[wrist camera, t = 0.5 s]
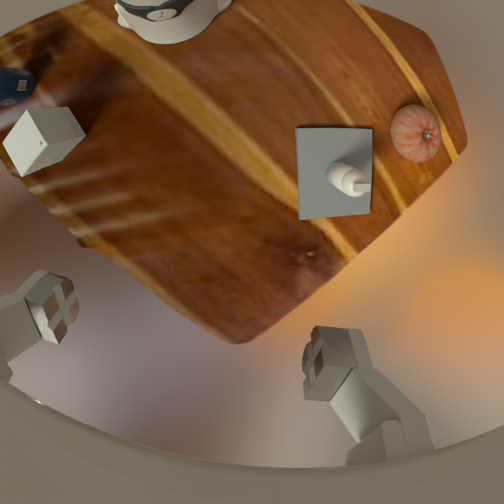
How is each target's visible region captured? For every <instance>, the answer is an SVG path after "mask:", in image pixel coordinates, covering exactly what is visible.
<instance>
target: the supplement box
mask: <svg viewBox="0 0 504 504" xmlns="http://www.w3.org/2000/svg"><path fill="white" fill-rule="evenodd" d="M85 136H86V134H85V133H84V131H83V129H82V128H81V126H80V125H79V123H78V122H77V120H76V118H75V117H74V115H73V114H72V112H71V110H70V109H69V108H68V107H54V108H39V109H27V110H26V111H25V113H24V114H23V115H22V116H21V118H20V119H19V120H18V122H17V123H16V124H15V126H14V127H13V129H12V130H11V131H10V133H9V134H8V136H7V137H6V139H5V140H4V142H3V145H4V147H5V149H6V150H7V152H8V154H9V156H10V158H11V159H12V161H13V163H14V164H15V166H16V168H17V170H18V172H19V173H20V175H21V177H23V176H25V175H28V174H30V173H32V172H34V171H37V170H39V169H41V168H44V167H46V166H49V165H51V164H53V163H56V162H59V161H61V160H63V159H64V157H65V156H66V155H67V154H68V153H69V152H70V151H71V150H72V149H73V148H74V147H75V146H76V145H77V144H78V143H79V142H80V141H81V140H82V139H83V138H84V137H85Z"/></svg>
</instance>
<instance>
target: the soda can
mask: <svg viewBox="0 0 504 504" xmlns="http://www.w3.org/2000/svg"><path fill="white" fill-rule="evenodd" d="M33 85H34V79H33V76H32V74H31V72H30V71H29V70H26V69H17V68H4V67H0V105H9V104H19V103H21V102H22V101H24V100H25V99H26V98H27V97H28V96H29V94H30V93H31V91H32V89H33Z"/></svg>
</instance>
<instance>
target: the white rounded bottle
mask: <svg viewBox="0 0 504 504" xmlns="http://www.w3.org/2000/svg"><path fill="white" fill-rule="evenodd" d="M326 178H327V180H328V182H329V183H330V184H332V185H333V186H335V187H336V188H338V189H339V190H341V191H342V192H344V193H345V194H347V195H348V196H351V197H359V196H361V195H363V194H364V193H365V192H370V183H368V178H367V176H366V175H365V173H364V172H362V171H361V170H359V169H357V168H354V167H352V166H350V165H348V164H345V163H343V162H340V161H335V162H333V163H331V164H330V165H329V166H328V167H327V170H326Z"/></svg>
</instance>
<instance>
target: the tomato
mask: <svg viewBox="0 0 504 504" xmlns="http://www.w3.org/2000/svg"><path fill="white" fill-rule="evenodd" d="M390 134H391V139H392V142H393V144H394V147H395V148H396V150H397V151H398V152H399V153H400V154H401V155H402V156H403V157H404V158H406V159H408V160H410V161H413V162H425V161H427V160H429V159H430V158H432V157H433V156H434V155H435V154H436V153H437V151H438V149H439V146H440V143H441V131H440V127H439V124H438V122H437V120H436V118H435V117H434V115H433V114H432V113H431V112H430V111H429V110H427V109H426V108H424V107H421V106H418V105H407V106H405V107H403V108H401V109H399V110H398V111H397V112H396V114H395V115H394V117H393V119H392V122H391V126H390Z"/></svg>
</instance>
